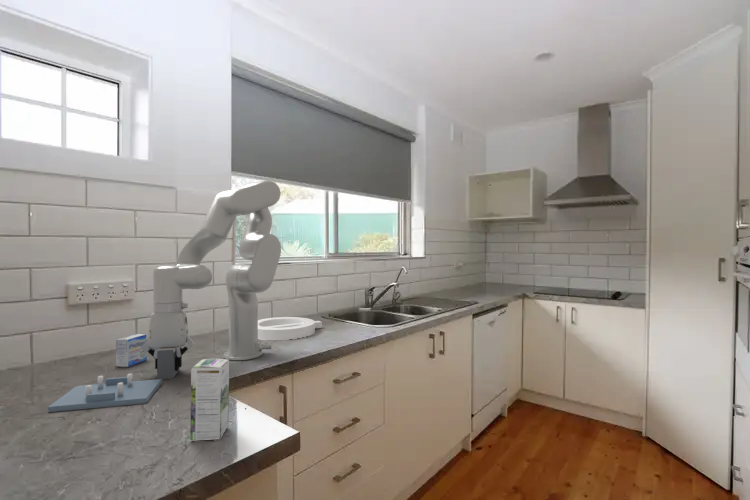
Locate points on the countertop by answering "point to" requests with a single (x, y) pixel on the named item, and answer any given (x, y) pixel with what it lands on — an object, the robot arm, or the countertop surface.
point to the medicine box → (130, 350)
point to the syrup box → (209, 399)
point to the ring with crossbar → (286, 328)
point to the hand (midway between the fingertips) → (168, 369)
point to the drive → (166, 363)
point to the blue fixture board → (107, 394)
